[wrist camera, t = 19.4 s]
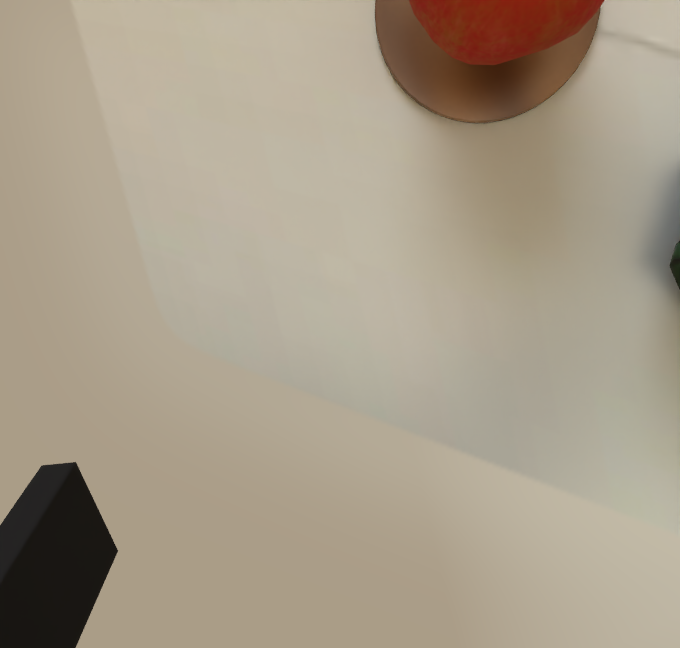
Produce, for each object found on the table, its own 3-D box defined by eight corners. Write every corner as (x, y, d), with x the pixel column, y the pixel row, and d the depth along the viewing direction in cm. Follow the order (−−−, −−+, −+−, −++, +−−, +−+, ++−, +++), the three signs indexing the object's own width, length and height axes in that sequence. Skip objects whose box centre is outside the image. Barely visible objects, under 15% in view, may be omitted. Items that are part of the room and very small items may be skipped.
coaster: (427, 159, 30) (427, 158, 29) (340, -43, 29) (339, -47, 28) (632, 60, 28) (635, 58, 28) (548, -160, 27) (550, -166, 26)
